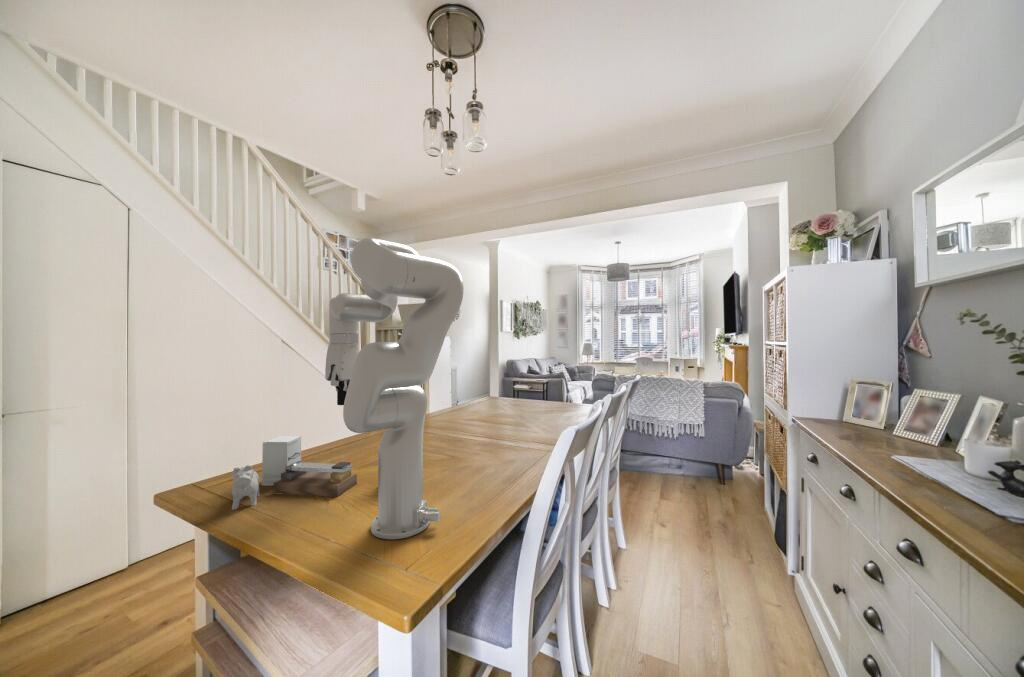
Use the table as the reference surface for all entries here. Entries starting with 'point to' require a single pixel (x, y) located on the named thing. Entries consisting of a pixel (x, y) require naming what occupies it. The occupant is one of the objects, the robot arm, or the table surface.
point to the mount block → (315, 483)
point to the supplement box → (279, 457)
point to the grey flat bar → (319, 467)
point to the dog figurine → (245, 485)
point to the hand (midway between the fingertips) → (344, 404)
